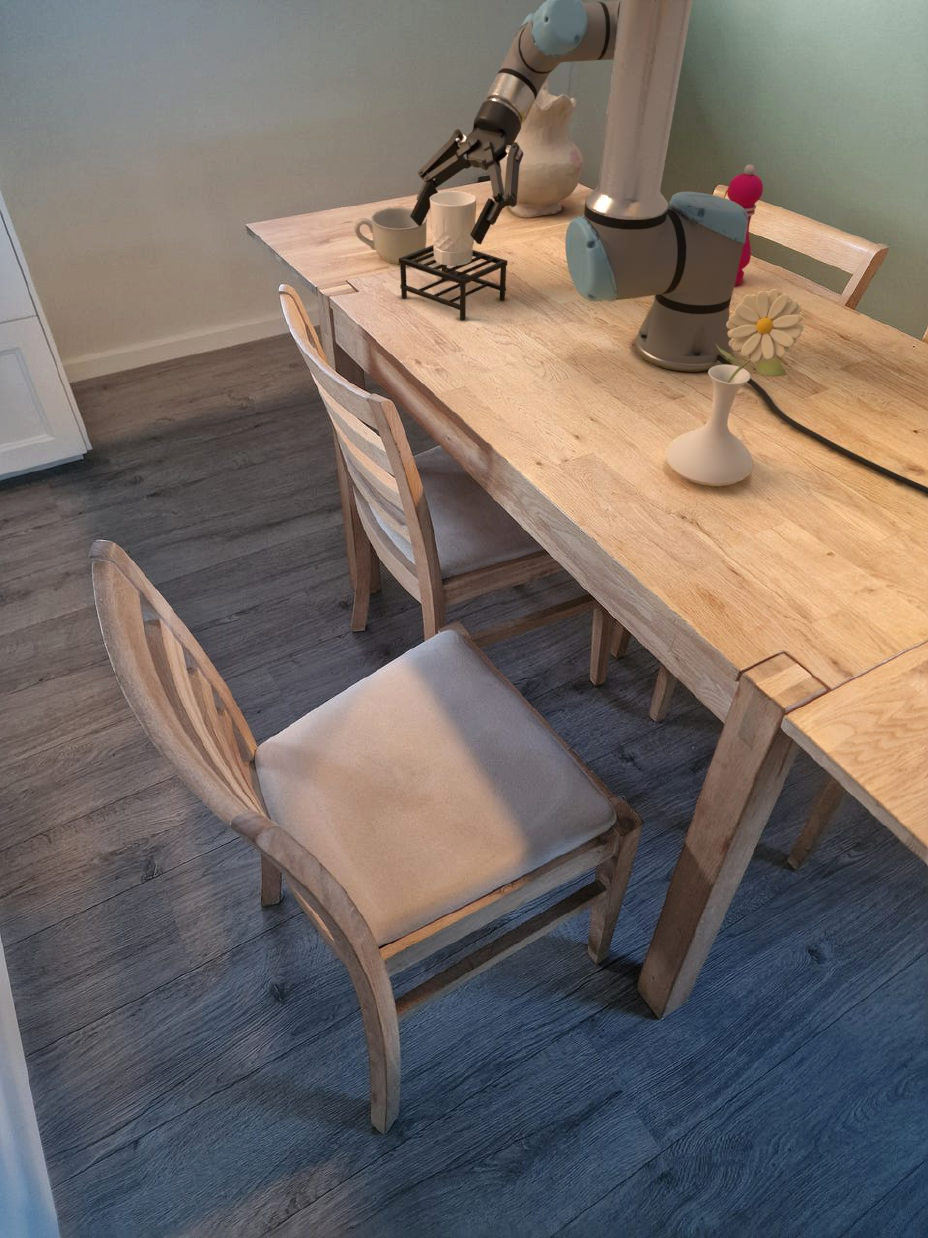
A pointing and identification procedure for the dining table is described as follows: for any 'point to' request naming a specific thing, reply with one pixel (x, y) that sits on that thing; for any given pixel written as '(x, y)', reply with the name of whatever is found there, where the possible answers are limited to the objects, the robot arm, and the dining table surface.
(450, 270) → the wire rack
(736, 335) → the flower in vase
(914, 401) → the dining table surface
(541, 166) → the ceramic pitcher
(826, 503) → the dining table surface
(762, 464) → the dining table surface
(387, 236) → the teacup
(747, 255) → the pepper mill
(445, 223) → the white cup
